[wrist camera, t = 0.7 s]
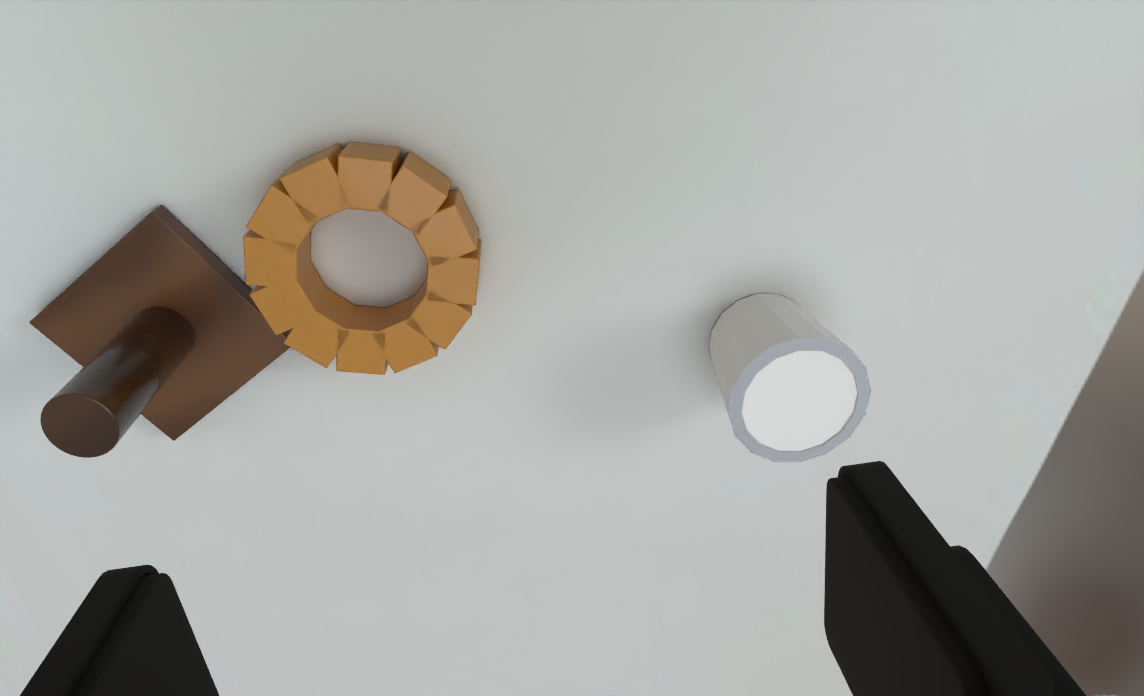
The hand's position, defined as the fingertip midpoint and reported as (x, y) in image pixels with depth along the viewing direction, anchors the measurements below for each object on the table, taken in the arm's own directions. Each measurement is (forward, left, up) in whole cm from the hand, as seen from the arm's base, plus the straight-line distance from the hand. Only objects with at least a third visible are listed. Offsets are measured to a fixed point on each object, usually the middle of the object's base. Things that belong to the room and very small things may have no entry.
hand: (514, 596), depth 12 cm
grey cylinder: (+9, +15, -31) cm, 36 cm away
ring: (+6, -6, -31) cm, 32 cm away
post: (+11, -16, -31) cm, 37 cm away
